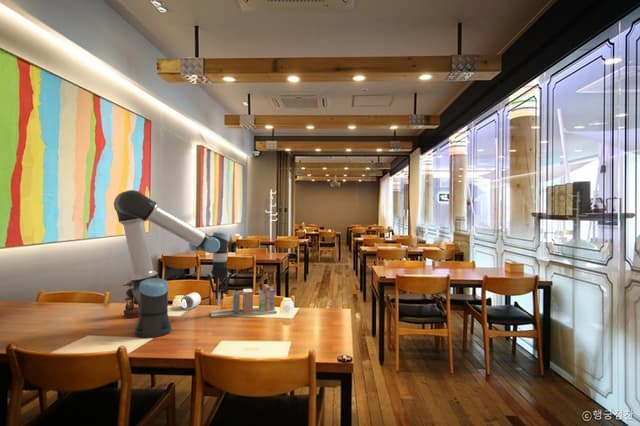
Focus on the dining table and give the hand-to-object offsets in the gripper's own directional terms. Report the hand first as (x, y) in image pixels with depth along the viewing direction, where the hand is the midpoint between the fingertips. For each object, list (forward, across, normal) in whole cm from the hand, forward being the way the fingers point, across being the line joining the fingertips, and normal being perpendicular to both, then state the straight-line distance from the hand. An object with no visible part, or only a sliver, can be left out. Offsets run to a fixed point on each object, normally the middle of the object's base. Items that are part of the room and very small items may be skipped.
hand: (219, 305), depth 200 cm
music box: (+6, +42, -10) cm, 44 cm away
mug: (+5, +17, -21) cm, 28 cm away
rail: (+5, -13, 0) cm, 14 cm away
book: (+4, -15, 0) cm, 16 cm away
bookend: (+4, -9, 0) cm, 10 cm away
